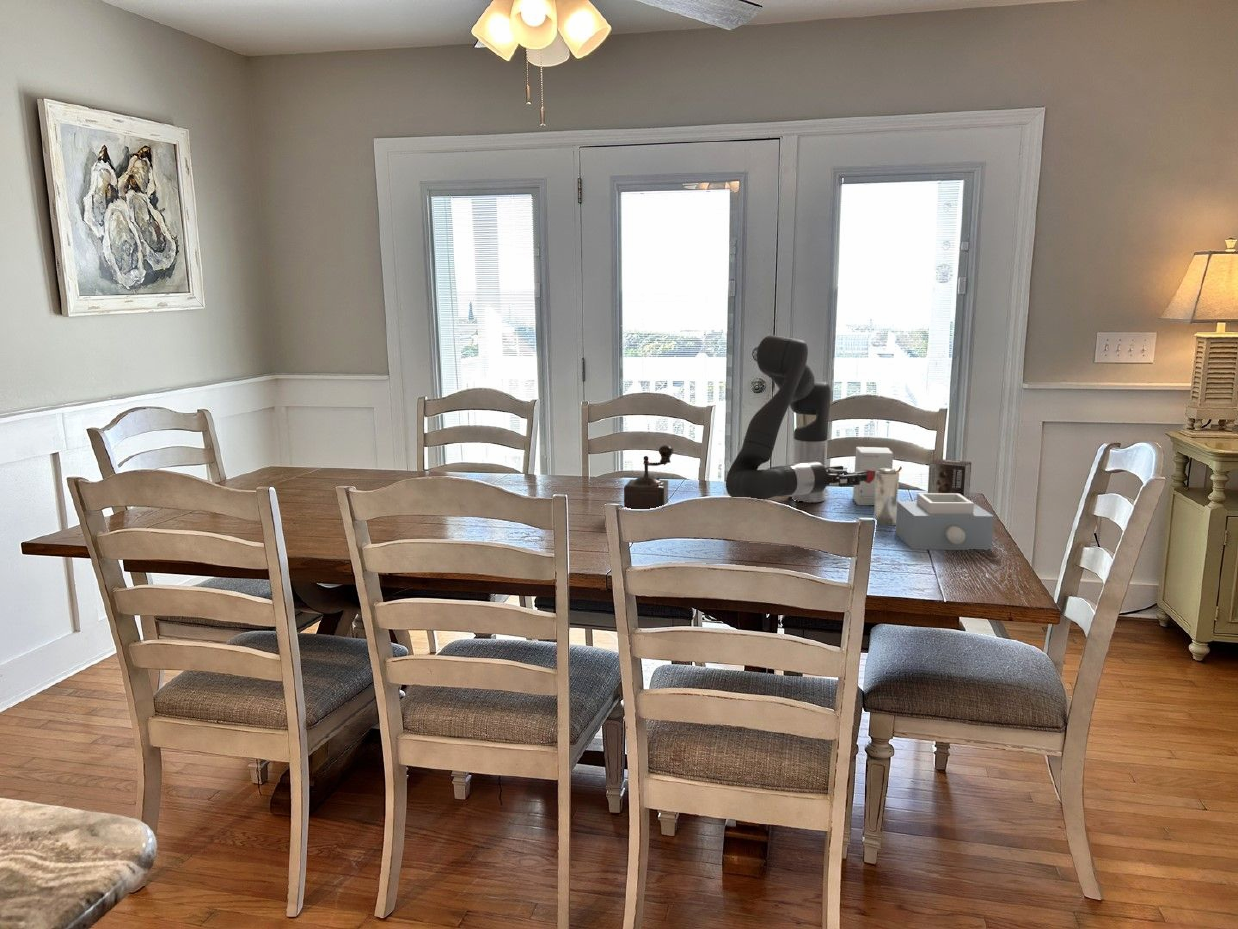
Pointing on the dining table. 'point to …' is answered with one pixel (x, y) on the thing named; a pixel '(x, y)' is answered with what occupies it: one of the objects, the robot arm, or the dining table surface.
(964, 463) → the coffee box
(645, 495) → the manual coffee grinder
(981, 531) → the box
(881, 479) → the spout can
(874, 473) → the supplement box
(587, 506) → the dining table surface
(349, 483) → the dining table surface
